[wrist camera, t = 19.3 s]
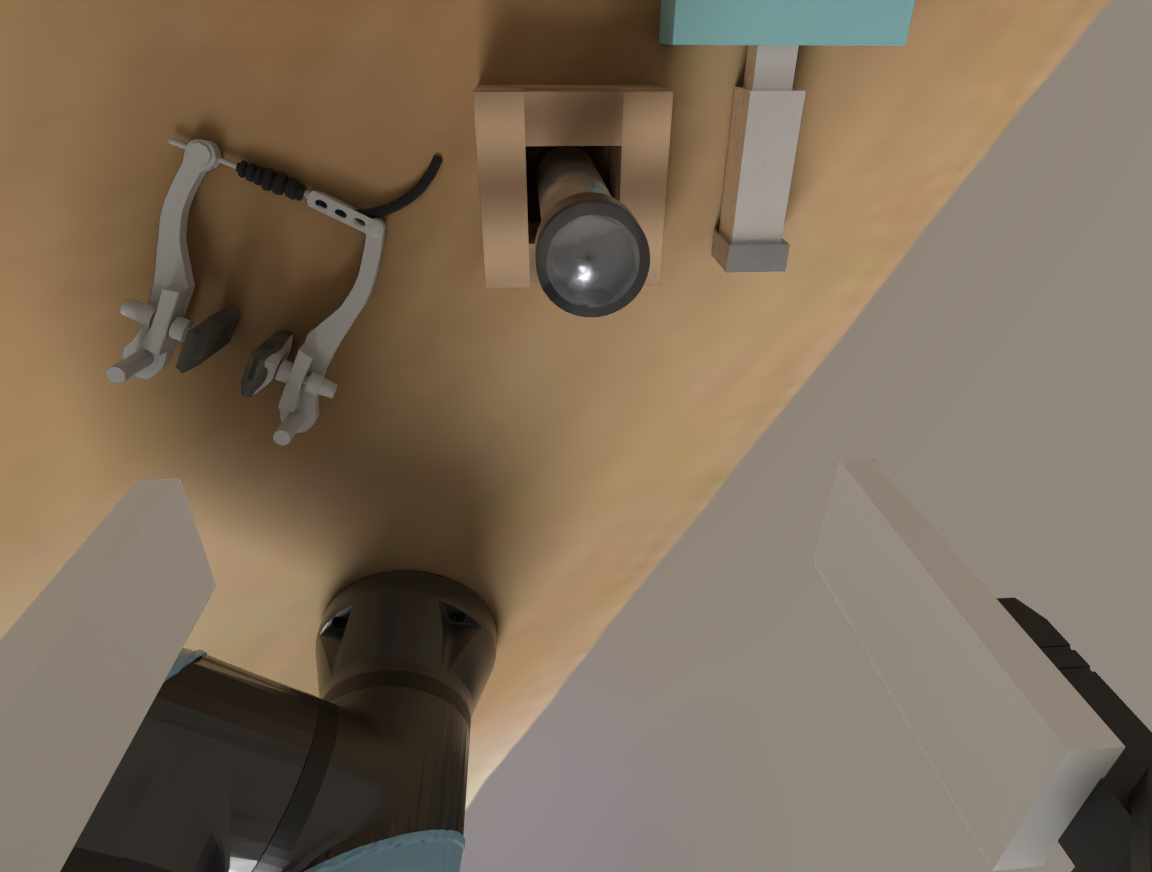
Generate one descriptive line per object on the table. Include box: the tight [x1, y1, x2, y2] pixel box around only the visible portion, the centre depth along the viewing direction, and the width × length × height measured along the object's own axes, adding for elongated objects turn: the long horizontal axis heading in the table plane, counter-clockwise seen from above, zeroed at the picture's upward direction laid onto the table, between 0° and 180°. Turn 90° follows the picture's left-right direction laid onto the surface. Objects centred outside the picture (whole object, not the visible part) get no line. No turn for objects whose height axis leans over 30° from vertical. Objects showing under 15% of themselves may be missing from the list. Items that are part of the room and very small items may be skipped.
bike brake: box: [106, 138, 442, 446], centre depth 39 cm, size 14×7×20 cm
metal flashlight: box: [535, 146, 650, 317], centre depth 33 cm, size 4×4×17 cm
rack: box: [473, 85, 673, 288], centre depth 38 cm, size 10×10×5 cm
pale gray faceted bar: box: [712, 45, 806, 272], centre depth 38 cm, size 14×4×4 cm, turn 0°
